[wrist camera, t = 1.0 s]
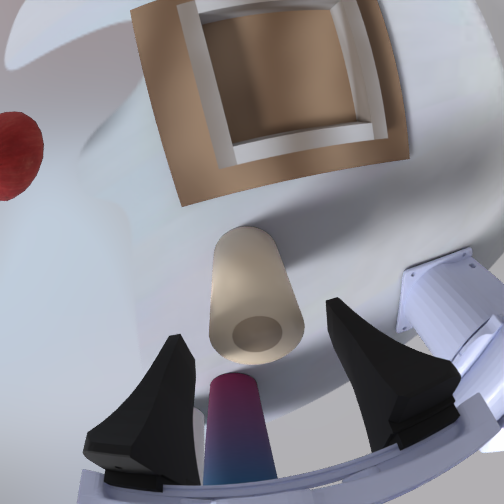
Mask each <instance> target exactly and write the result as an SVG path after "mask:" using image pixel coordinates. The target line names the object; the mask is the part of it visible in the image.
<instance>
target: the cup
mask: <svg viewBox="0 0 504 504" xmlns="http://www.w3.org/2000/svg"><path fill="white" fill-rule="evenodd" d="M272 479H278V478H277V474H276V469H275V465H274V460H273V456H272V451H271V447H270V443H269V438H268V433H267V429H266V424H265V420H264V415H263V410H262V406H261V401H260V396H259V392H258V387H257V383H256V381H255V380H254V379H253V378H252V377H250V376H248V375H245V374H240V373H228V374H223V375H220V376H218V377H216V378H215V379H213V381H212V382H211V384H210V394H209V406H208V417H207V430H206V443H205V457H204V472H203V486H204V485H227V484H240V483H249V482H258V481H265V480H272ZM212 501H214V500H212Z"/></svg>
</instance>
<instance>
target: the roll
mask: <svg viewBox="0 0 504 504" xmlns="http://www.w3.org/2000/svg"><path fill="white" fill-rule="evenodd" d="M304 328H305V327H304V320H303V317H302V314H301V311H300V309H299V306H298V303H297V300H296V298H295V295H294V292H293V289H292V287H291V284H290V281H289V278H288V276H287V273H286V270H285V268H284V265H283V262H282V260H281V257H280V254H279V252H278V249H277V246H276V244H275V242H274V240H273V239H272V237H271V236H270V235H269V234H268V233H266V232H265V231H263V230H261V229H259V228H256V227H249V226H245V227H238V228H235V229H232V230H230V231H228V232H227V233H225V234H224V235H223V236H222V237H221V238H220V239H219V241H218V242H217V244H216V247H215V250H214V259H213V273H212V288H211V305H210V325H209V338H210V341H211V344H212V346H213V348H214V349H215V350H216V351H217V352H218V353H219V354H220V355H221V356H223V357H224V358H226V359H228V360H230V361H233V362H236V363H240V364H247V365H258V364H265V363H269V362H273V361H275V360H278V359H280V358H282V357H284V356H286V355H287V354H289V353H290V352H291V351H292V350H293V349H295V347H296V346H297V345H298V344H299V342H300V341H301V339H302V337H303V334H304Z"/></svg>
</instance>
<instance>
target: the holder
mask: <svg viewBox="0 0 504 504" xmlns="http://www.w3.org/2000/svg"><path fill="white" fill-rule="evenodd" d="M130 13H131V18H132V23H133V28H134V33H135V38H136V42H137V47H138V52H139V56H140V60H141V65H142V69H143V73H144V77H145V81H146V85H147V89H148V93H149V97H150V101H151V105H152V109H153V112H154V116H155V120H156V123H157V127H158V130H159V134H160V137H161V141H162V144H163V148H164V151H165V155H166V158H167V161H168V165H169V168H170V171H171V174H172V178H173V181H174V184H175V187H176V190H177V193H178V197H179V200H180V203H181V206H182V207H184V206H187V205H191V204H194V203H198V202H202V201H205V200H209V199H213V198H217V197H220V196H224V195H228V194H232V193H236V192H240V191H244V190H248V189H252V188H257V187H261V186H265V185H269V184H274V183H278V182H283V181H287V180H292V179H297V178H301V177H306V176H311V175H316V174H321V173H326V172H332V171H337V170H343V169H348V168H354V167H360V166H366V165H372V164H378V163H385V162H391V161H398V160H406V159H410V156H409V144H408V134H407V125H406V117H405V110H404V103H403V97H402V92H401V86H400V81H399V76H398V71H397V67H396V62H395V58H394V54H393V50H392V46H391V43H390V39H389V35H388V32H387V29H386V25H385V22H384V19H383V16H382V13H381V10H380V7H379V5H378V2H377V0H156V1H153V2H151V3H148V4H145V5H143V6H140V7H137V8H135V9H132V10H130Z"/></svg>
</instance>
